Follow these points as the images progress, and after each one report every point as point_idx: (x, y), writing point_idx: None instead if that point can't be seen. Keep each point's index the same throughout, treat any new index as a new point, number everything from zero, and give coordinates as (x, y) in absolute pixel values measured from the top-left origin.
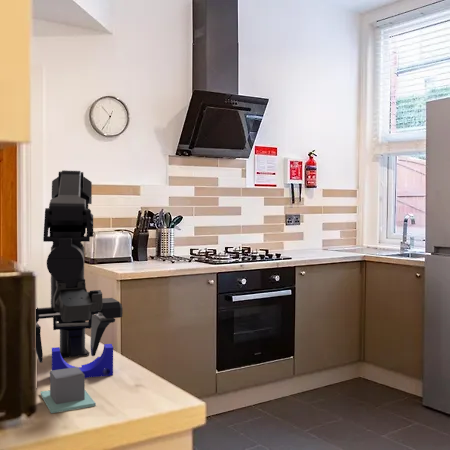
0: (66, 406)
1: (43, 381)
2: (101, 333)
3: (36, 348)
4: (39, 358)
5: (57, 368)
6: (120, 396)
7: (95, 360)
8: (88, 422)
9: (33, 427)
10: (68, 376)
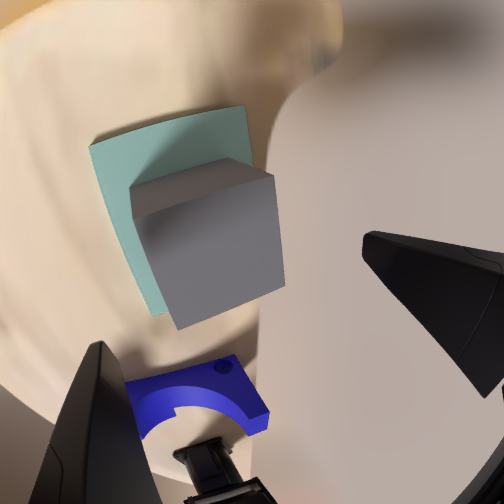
0: (193, 127)
1: (253, 347)
2: (43, 485)
3: (446, 243)
4: (391, 234)
5: (234, 380)
6: (18, 236)
7: (145, 428)
8: (128, 10)
9: (287, 27)
10: (216, 202)
